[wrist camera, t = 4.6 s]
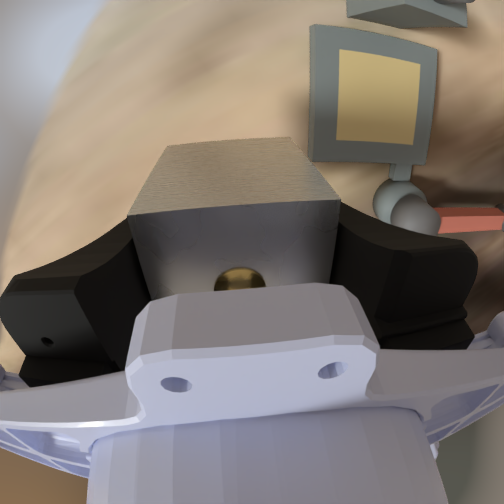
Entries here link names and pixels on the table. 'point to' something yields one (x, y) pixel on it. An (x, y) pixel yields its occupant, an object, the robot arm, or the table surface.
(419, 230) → the lever
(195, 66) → the table surface
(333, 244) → the block
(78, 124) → the table surface
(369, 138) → the press
